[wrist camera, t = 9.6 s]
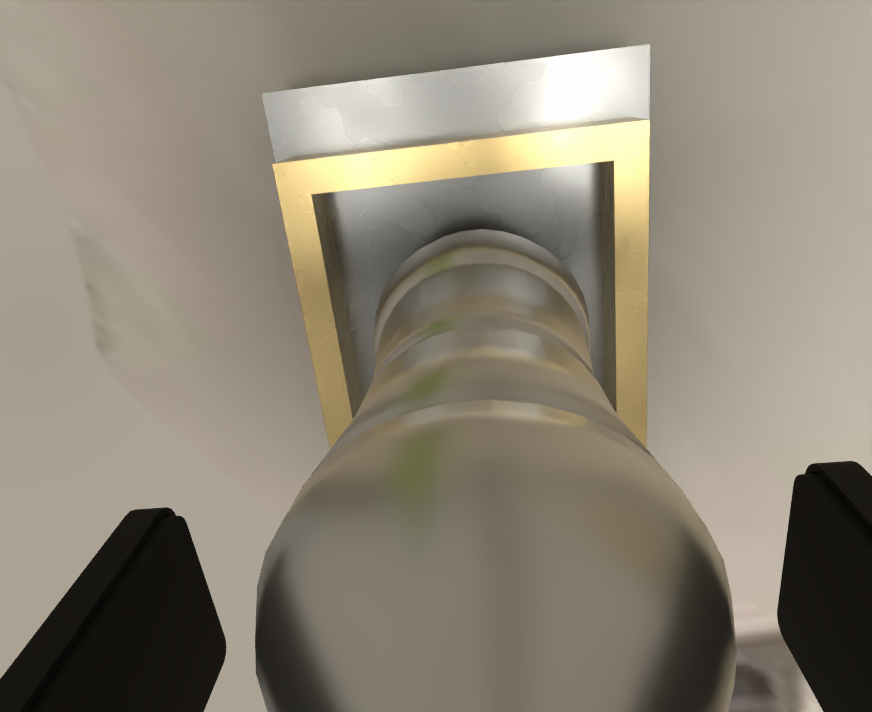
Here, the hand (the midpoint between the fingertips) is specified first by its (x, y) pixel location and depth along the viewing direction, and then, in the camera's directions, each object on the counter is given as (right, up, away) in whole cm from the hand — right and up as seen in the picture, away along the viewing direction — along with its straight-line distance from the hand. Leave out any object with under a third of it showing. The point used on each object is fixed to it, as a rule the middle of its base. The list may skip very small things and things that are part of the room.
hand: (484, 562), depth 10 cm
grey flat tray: (+1, +6, +16) cm, 17 cm away
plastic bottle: (+1, +5, +13) cm, 14 cm away
